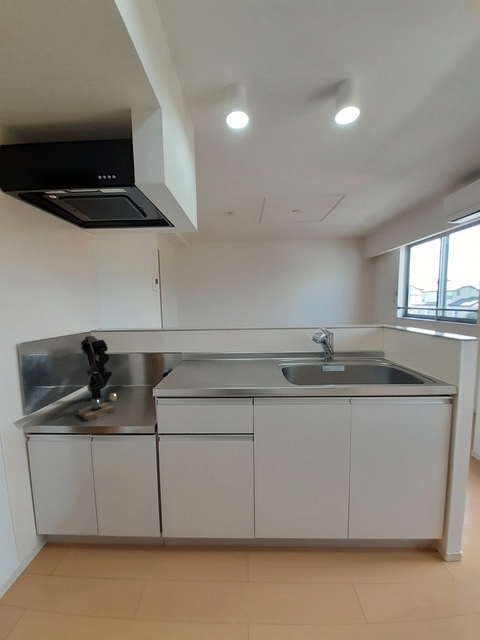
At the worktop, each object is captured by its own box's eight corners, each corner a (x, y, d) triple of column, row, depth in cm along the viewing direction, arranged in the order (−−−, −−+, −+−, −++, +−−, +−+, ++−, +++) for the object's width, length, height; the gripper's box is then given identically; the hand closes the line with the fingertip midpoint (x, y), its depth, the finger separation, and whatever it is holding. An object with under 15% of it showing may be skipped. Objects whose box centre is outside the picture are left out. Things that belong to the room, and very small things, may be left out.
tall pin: (98, 410, 153) (97, 397, 152) (101, 412, 150) (100, 399, 149) (91, 413, 149) (90, 399, 149) (94, 415, 147) (93, 401, 146)
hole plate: (78, 414, 149) (78, 410, 148) (103, 405, 160) (103, 401, 159) (88, 421, 140) (88, 416, 140) (114, 411, 151) (114, 407, 151)
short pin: (108, 400, 168) (108, 394, 168) (114, 398, 171) (114, 392, 171) (111, 401, 166) (111, 395, 165) (117, 399, 169) (117, 393, 168)
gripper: (78, 361, 159) (80, 386, 161) (91, 365, 148) (94, 392, 149) (97, 357, 168) (99, 381, 170) (111, 361, 156) (113, 386, 158)
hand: (101, 385), depth 161 cm, fingers open, 9 cm apart
